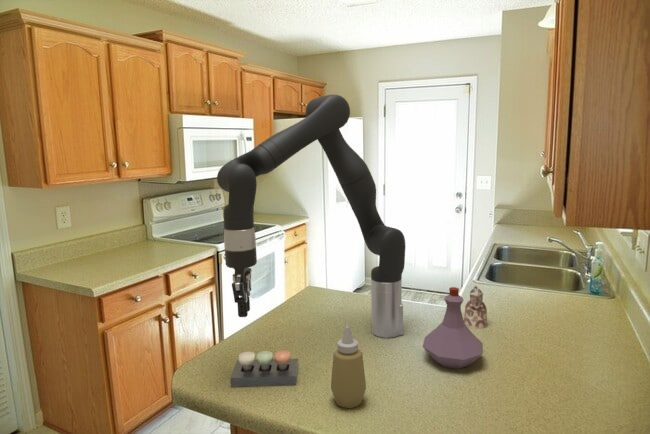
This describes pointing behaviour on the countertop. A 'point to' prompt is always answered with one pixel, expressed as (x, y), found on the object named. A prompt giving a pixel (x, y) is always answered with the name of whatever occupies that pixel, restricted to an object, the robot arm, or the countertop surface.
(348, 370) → the squeeze bottle
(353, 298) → the countertop surface
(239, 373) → the panel
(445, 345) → the flask
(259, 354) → the sage button
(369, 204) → the robot arm
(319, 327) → the countertop surface
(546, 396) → the countertop surface
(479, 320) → the figurine
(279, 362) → the terracotta button
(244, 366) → the ivory button
